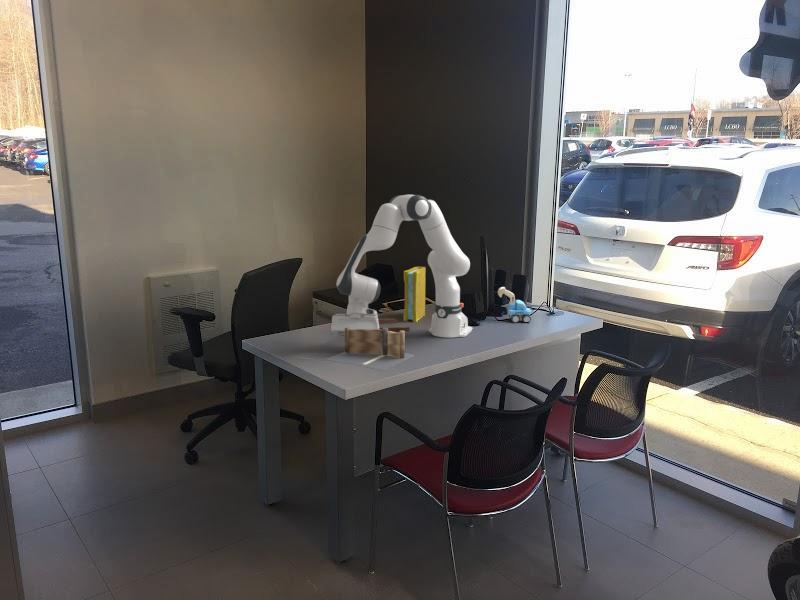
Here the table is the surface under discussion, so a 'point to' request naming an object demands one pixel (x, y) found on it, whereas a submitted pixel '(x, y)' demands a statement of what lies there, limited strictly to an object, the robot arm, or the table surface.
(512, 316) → the toy excavator
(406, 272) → the book
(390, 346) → the fixed fence
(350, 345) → the fence leaf
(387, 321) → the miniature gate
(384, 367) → the board
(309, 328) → the table surface
